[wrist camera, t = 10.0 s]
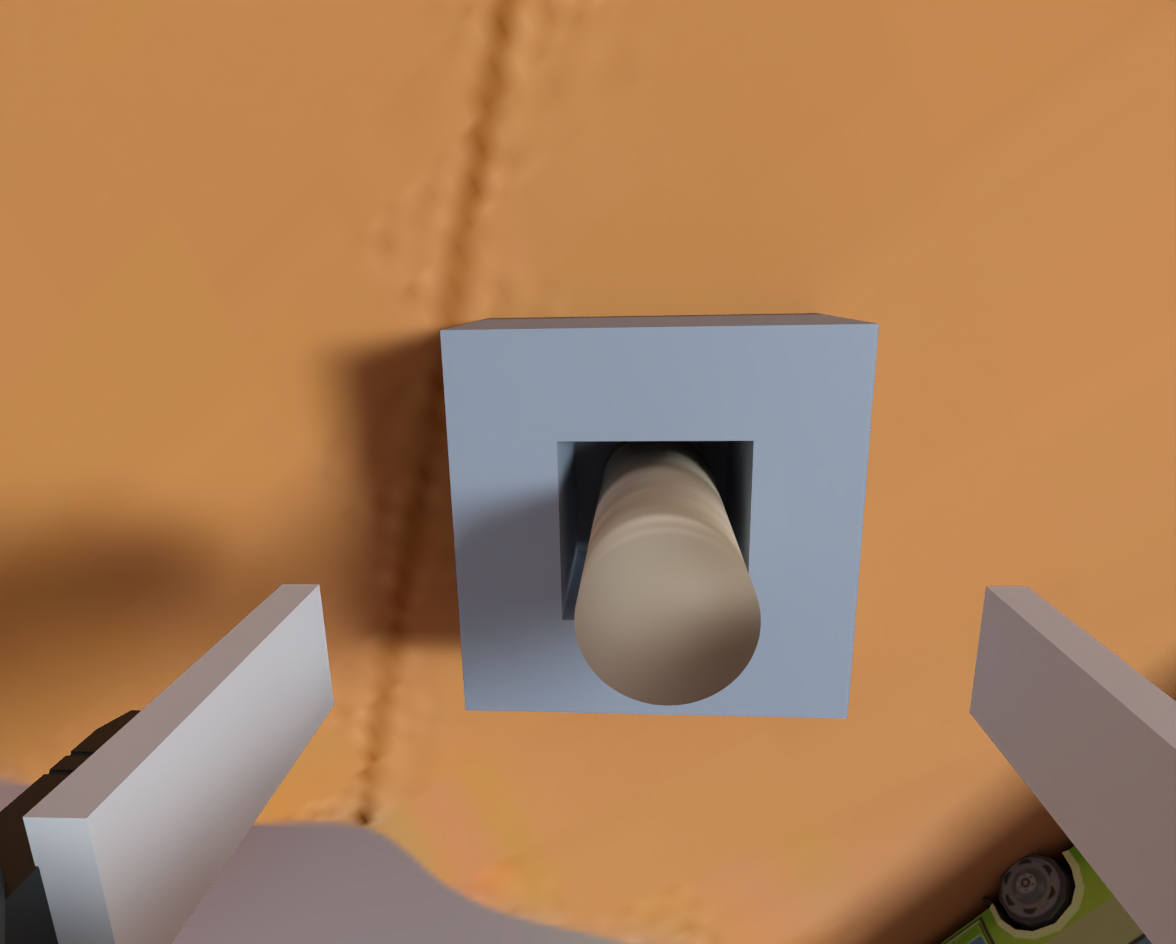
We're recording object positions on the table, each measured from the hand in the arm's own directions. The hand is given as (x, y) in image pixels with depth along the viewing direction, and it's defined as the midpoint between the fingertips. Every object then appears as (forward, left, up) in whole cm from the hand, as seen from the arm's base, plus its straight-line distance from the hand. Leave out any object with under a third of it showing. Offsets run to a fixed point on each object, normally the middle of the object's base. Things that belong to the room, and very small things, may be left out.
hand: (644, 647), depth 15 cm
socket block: (0, 0, -14) cm, 14 cm away
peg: (+1, 0, -13) cm, 13 cm away
